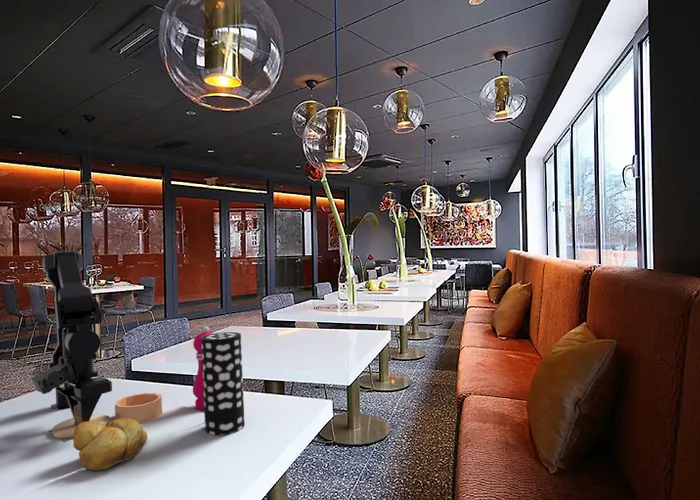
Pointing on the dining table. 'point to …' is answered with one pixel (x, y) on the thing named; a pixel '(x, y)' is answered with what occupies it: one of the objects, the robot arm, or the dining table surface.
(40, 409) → the dining table surface
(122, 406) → the bowl
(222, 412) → the white-spotted black cylinder
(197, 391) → the pepper mill
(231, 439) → the dining table surface
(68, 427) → the lid
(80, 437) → the bread roll
